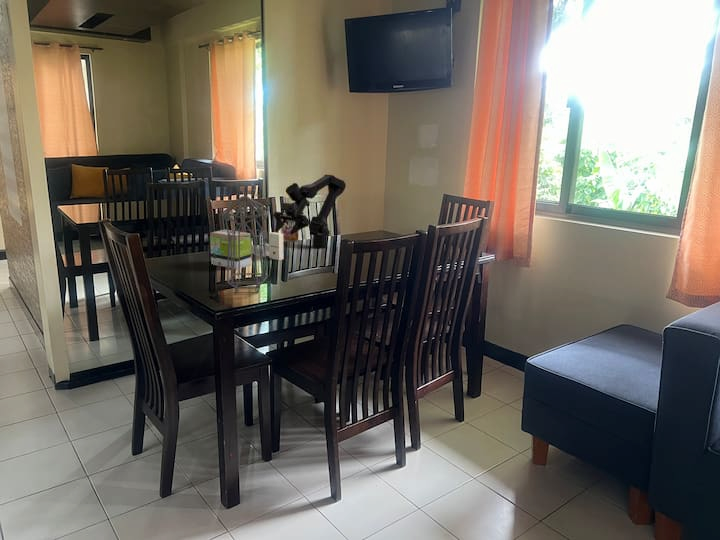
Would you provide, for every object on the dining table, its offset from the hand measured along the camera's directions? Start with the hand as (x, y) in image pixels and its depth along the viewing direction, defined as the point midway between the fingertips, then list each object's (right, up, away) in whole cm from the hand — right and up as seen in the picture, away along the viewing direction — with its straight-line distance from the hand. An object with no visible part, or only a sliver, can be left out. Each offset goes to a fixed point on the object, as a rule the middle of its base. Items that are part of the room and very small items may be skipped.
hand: (283, 233), depth 247 cm
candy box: (-2, -2, +40) cm, 40 cm away
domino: (-3, -12, -1) cm, 13 cm away
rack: (-11, -9, +8) cm, 16 cm away
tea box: (-21, -15, -15) cm, 30 cm away
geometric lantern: (-6, -25, -52) cm, 58 cm away
